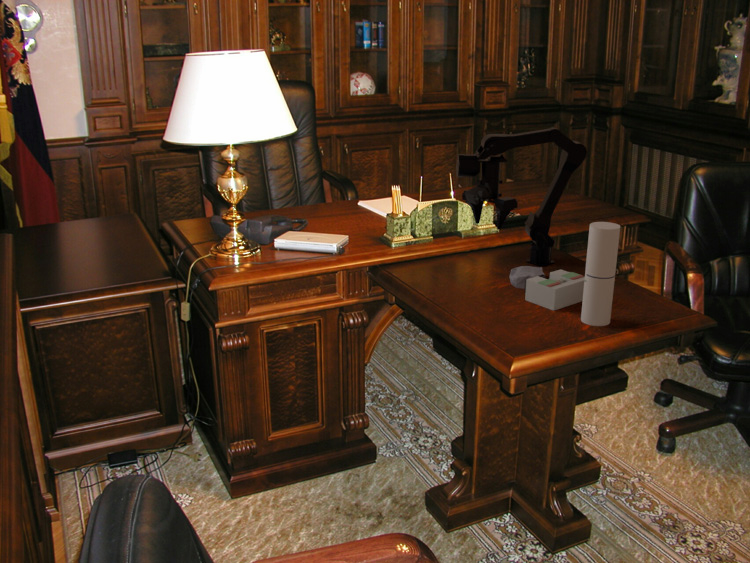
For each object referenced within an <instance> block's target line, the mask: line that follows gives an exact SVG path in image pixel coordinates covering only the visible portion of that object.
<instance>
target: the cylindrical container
mask: <svg viewBox="0 0 750 563" xmlns="http://www.w3.org/2000/svg"><path fill="white" fill-rule="evenodd" d="M588 230H589V231H588V241H587V251H586V259H585V260H586V261H585V269H584V270H585V271H584V272H585V273H584V277H585V281H584V291H583V301H581V302H582V303H581V304H582V306H581V313H580V321H581V322H582V323H583V324H585V325H589V326H592V327H605V326H608V325H609V324H611V316H612V307H613V300H614V298H613V297H614V289H615V288H614V287H615V278H616V271H617V260H618V254H619V252H618V251H619V243H620V234H621V225H620V224H618V223H614V222H610V221H595V222H594V221H593V222H591V223H590V224H589V229H588Z"/></svg>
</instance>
